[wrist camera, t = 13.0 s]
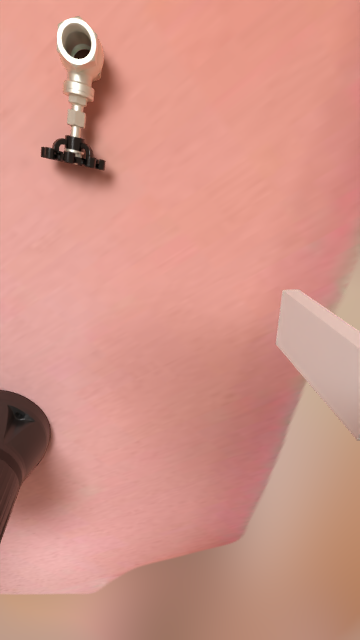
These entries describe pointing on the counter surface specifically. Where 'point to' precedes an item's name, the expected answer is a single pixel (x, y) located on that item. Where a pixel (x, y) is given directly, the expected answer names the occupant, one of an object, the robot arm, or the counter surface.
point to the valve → (77, 89)
